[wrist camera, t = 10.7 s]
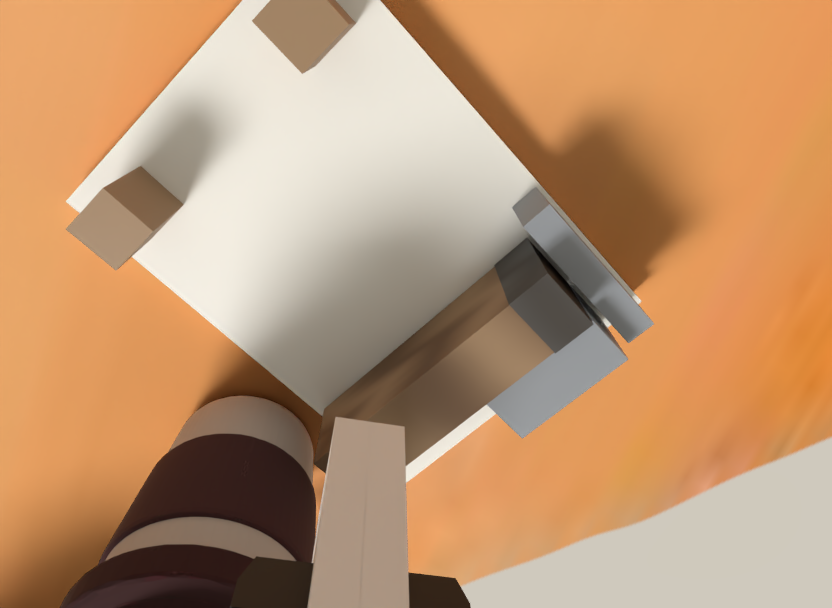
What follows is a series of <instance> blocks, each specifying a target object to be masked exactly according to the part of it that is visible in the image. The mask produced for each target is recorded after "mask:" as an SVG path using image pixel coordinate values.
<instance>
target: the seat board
mask: <svg viewBox="0 0 832 608" xmlns="http://www.w3.org/2000/svg"><path fill="white" fill-rule="evenodd" d="M66 202H67V203H68V204H70V205H71V206H72V207H73V208H74V209H75V210H77V211H78V212H79V213H80V214H79V215H78V216H77V217H76V218H75V219H74V221H73V222H72V223H71V224H70V225H69V226H68V227H67V228H66V230H67V231H69V232H70V233H71V234H72V235H73V236H75V237H76V238H77V239H78V240H79V241H81V242H82V243H83V244H84V245H86V246H87V247H88V248H89V249H90V250H92V251H93V252H94V253H95V254H97V255H98V256H99V257H100V258H101V259H103V260H104V261H105V262H106V263H107V264H109V265H110V266H111V267H112V268H114V269H115V270H117V269H118V268H120V267H121V266H122V265H123V264H124V263H125V262H126V261H127V260H128V259H130V258H131V257H133V258H134V259H135V260H136V261H138V262H139V263H140V264H141V265H142V266H143V267H145V268H146V269H147V270H148V271H149V272H151V273H152V274H153V275H154V276H155V277H157V278H158V279H159V280H160V281H161V282H163V283H164V284H165V285H166V286H167V287H169V288H170V289H171V290H172V291H173V292H175V293H176V294H177V295H178V296H179V297H180V298H182V299H183V300H184V301H185V302H186V303H188V304H189V305H190V306H191V307H192V308H194V309H195V310H196V311H197V312H198V313H200V314H201V315H202V316H203V317H204V318H206V319H207V320H208V321H209V322H210V323H211V324H213V325H214V326H215V327H216V328H217V329H219V330H220V331H221V332H222V333H223V334H225V335H226V336H227V337H228V338H229V339H231V340H232V341H233V342H234V343H235V344H237V345H238V346H239V347H240V348H241V349H243V350H244V351H245V352H246V353H247V354H248V355H250V356H251V357H252V358H253V359H254V360H256V361H257V362H258V363H259V364H260V365H262V366H263V367H264V368H265V369H266V370H268V371H269V372H270V373H271V374H272V375H274V376H275V377H276V378H277V379H278V380H280V381H281V382H282V383H283V384H284V385H285V386H287V387H288V388H289V389H290V390H291V391H293V392H294V393H295V394H296V395H297V396H299V397H300V398H301V399H302V400H303V401H305V402H306V403H307V404H308V405H309V406H311V407H312V408H313V409H314V410H315V411H316V412H318V413H319V414H320V415H321V416H322V417H323V412H324V409H325V408H326V407H327V406H328V405H329V404H331V403H332V402H333V401H334V400H335V399H337V398H338V397H339V396H340V395H341V394H343V393H344V392H345V391H346V390H347V389H349V388H350V387H351V386H352V385H353V384H355V383H356V382H357V381H358V380H359V379H361V378H362V377H363V376H364V375H365V374H367V373H368V372H369V371H370V370H371V369H373V368H374V367H375V366H376V365H377V364H379V363H380V362H381V361H382V360H383V359H385V358H386V357H387V356H388V355H389V354H391V353H392V352H393V351H394V350H395V349H397V348H398V347H399V346H400V345H401V344H402V343H404V342H405V341H406V340H407V339H408V338H410V337H411V336H412V335H413V334H414V333H416V332H417V331H418V330H419V329H420V328H422V327H423V326H424V325H425V324H426V323H428V322H429V321H430V320H431V319H432V318H434V317H435V316H436V315H437V314H438V313H440V312H441V311H442V310H443V309H444V308H446V307H447V306H448V305H449V304H450V303H452V302H453V301H454V300H455V299H456V298H458V297H459V296H460V295H461V294H462V293H464V292H465V291H466V290H467V289H468V288H470V287H471V286H472V285H473V284H474V283H476V282H477V281H478V280H479V279H480V278H481V277H483V276H484V275H485V274H486V273H487V272H489V271H490V270H491V269H492V268H493V267H495V266H494V265H495V264H496V263H497V262H499V261H500V260H501V259H502V258H503V257H504V256H506V255H507V254H508V253H509V252H510V251H512V250H513V249H514V248H515V247H516V246H518V245H519V244H520V243H521V242H522V241H524V240H525V239H526V238H528V239H529V240H530V241H531V242H532V243H533V245H534V246H535V247H536V248H537V249H538V250H539V251H540V252H541V253H542V255H543V256H544V257H545V258H546V259H547V260H548V261H549V262H550V264H551V265H552V266H553V267H554V268H555V269H556V270H557V271H558V273H559V274H560V275H561V276H562V277H563V278H564V279H565V280H566V281H567V283H568V284H569V286H570V287H571V289H572V291H573V292H574V294H575V295H576V297H577V299H578V300H579V302H580V303H581V305H582V307H583V308H584V310H585V311H586V313H587V315H588V316H589V318H590V319H591V321H592V323H593V324H594V325H592V326H591V327H590V328H588V329H587V330H586V331H584V332H583V333H582V334H580V335H579V336H578V337H577V338H575V339H574V340H573V341H571V342H570V343H569V344H567V345H566V346H565V347H563V348H562V349H561V350H560V351H558V352H557V353H556V354H555V353H553V354H552V355H550V356H549V357H548V358H546V359H545V360H544V361H543V362H541V363H540V364H539V365H537V366H536V367H535V368H533V369H532V370H531V371H529V372H528V373H527V374H526V375H524V376H523V377H522V378H520V379H519V380H518V381H516V382H515V383H514V384H513V385H511V386H510V387H509V388H507V389H506V390H505V391H503V392H502V393H501V394H500V395H498V396H497V397H496V398H494V399H493V400H492V401H490V402H489V403H488V404H486V405H485V406H484V407H483V408H481V409H480V410H479V411H477V412H476V413H475V414H473V415H472V416H471V417H470V418H468V419H467V420H466V421H464V422H463V423H462V424H460V425H459V426H458V427H457V428H455V429H454V430H453V431H451V432H450V433H449V434H447V435H446V436H445V437H443V438H442V439H441V440H440V441H438V442H437V443H436V444H434V445H433V446H432V447H430V448H429V449H428V450H427V451H425V452H424V453H423V454H421V455H420V456H419V457H417V458H416V459H415V460H414V461H412V462H411V463H410V464H408V465H407V466H406V483H407V482H408V481H409V480H410V479H412V478H413V477H414V476H416V475H417V474H418V473H420V472H421V471H422V470H423V469H425V468H426V467H427V466H429V465H430V464H431V463H433V462H434V461H435V460H436V459H438V458H439V457H440V456H442V455H443V454H444V453H446V452H447V451H448V450H449V449H451V448H452V447H453V446H455V445H456V444H457V443H459V442H460V441H461V440H462V439H464V438H465V437H466V436H468V435H469V434H470V433H471V432H473V431H474V430H475V429H477V428H478V427H479V426H481V425H482V424H483V423H484V422H486V421H487V420H488V419H490V418H491V417H492V416H494V415H495V414H497V415H498V416H499V417H500V418H501V419H502V420H503V421H504V422H506V423H507V424H508V425H509V426H510V427H511V428H512V429H513V430H514V431H515V432H516V433H517V434H518V435H519V436H520V437H521V438H524V437H525V436H526V435H528V434H529V433H530V432H532V431H533V430H534V429H536V428H537V427H538V426H540V425H541V424H542V423H544V422H545V421H546V420H548V419H549V418H550V417H552V416H553V415H555V414H556V413H557V412H559V411H560V410H561V409H563V408H564V407H565V406H567V405H568V404H569V403H571V402H572V401H573V400H575V399H576V398H577V397H579V396H580V395H581V394H583V393H584V392H585V391H587V390H588V389H589V388H591V387H592V386H593V385H595V384H596V383H597V382H599V381H600V380H601V379H603V378H604V377H605V376H607V375H608V374H609V373H611V372H612V371H613V370H615V369H616V368H617V367H619V366H620V365H621V364H623V363H624V362H625V361H627V360H628V358H627V357H626V355H625V354H624V352H623V351H622V349H621V348H620V346H619V345H618V343H617V342H616V340H615V338H614V337H613V335H612V334H611V332H610V331H609V329H608V327H609V326H610V325H612V326H613V327H614V328H615V329H616V330H617V331H618V332H619V333H620V334H621V336H622V337H623V338H624V339H625V340H626V341H627V342H628V343H630V342H631V341H632V340H633V339H635V338H636V337H637V336H639V335H640V334H641V333H643V332H644V331H645V330H647V329H648V328H649V327H651V326H652V325H653V324H654V323H653V322H652V321H651V319H650V318H649V317H648V316H647V315H646V313H645V312H644V311H643V310H642V308H641V307H640V306H639V305H638V304H639V303H640V302H642V301H641V300H640V299H639V298H638V297H637V295H636V294H635V293H634V292H633V291H632V290H631V288H630V287H629V286H628V285H627V284H626V283H625V282H624V280H623V279H622V278H621V277H620V276H619V275H618V273H617V272H616V271H615V270H614V269H613V268H612V267H611V265H610V264H609V263H608V262H607V261H606V260H605V258H604V257H603V256H602V255H601V254H600V253H599V252H598V250H597V249H596V248H595V247H594V246H593V245H592V244H591V242H590V241H589V240H588V239H587V238H586V237H585V235H584V234H583V233H582V232H581V231H580V230H579V229H578V227H577V226H576V225H575V224H574V223H573V222H572V220H571V219H570V218H569V217H568V216H567V215H566V214H565V212H564V211H563V210H562V209H561V208H560V207H559V206H558V204H557V203H556V202H555V201H554V200H553V199H552V197H551V196H550V195H549V194H548V193H547V192H546V191H545V189H544V188H543V187H542V186H541V185H540V184H539V182H538V181H537V180H536V179H535V178H534V177H533V176H532V174H531V173H530V172H529V171H528V170H527V169H526V168H525V166H524V165H523V164H522V163H521V162H520V161H519V159H518V158H517V157H516V156H515V155H514V154H513V153H512V151H511V150H510V149H509V148H508V147H507V146H506V144H505V143H504V142H503V141H502V140H501V139H500V138H499V136H498V135H497V134H496V133H495V132H494V131H493V130H492V128H491V127H490V126H489V125H488V124H487V123H486V121H485V120H484V119H483V118H482V117H481V116H480V115H479V113H478V112H477V111H476V110H475V109H474V108H473V106H472V105H471V104H470V103H469V102H468V101H467V100H466V98H465V97H464V96H463V95H462V94H461V93H460V91H459V90H458V89H457V88H456V87H455V86H454V85H453V83H452V82H451V81H450V80H449V79H448V78H447V77H446V75H445V74H444V73H443V72H442V71H441V70H440V68H439V67H438V66H437V65H436V64H435V63H434V62H433V60H432V59H431V58H430V57H429V56H428V55H427V53H426V52H425V51H424V50H423V49H422V48H421V47H420V45H419V44H418V43H417V42H416V41H415V40H414V39H413V37H412V36H411V35H410V34H409V33H408V32H407V30H406V29H405V28H404V27H403V26H402V25H401V24H400V22H399V21H398V20H397V19H396V18H395V17H394V15H393V14H392V13H391V12H390V11H389V10H388V9H387V7H386V6H385V5H384V4H383V3H382V2H381V1H380V0H242V1H241V3H240V4H239V5H238V6H237V7H236V8H235V9H234V11H233V12H232V13H231V14H230V15H229V16H228V17H227V19H226V20H225V21H224V22H223V23H222V24H221V25H220V27H219V28H218V29H217V30H216V31H215V32H214V33H213V35H212V36H211V37H210V38H209V39H208V40H207V41H206V42H205V44H204V45H203V46H202V47H201V48H200V49H199V50H198V52H197V53H196V54H195V55H194V56H193V57H192V58H191V60H190V61H189V62H188V63H187V64H186V65H185V66H184V68H183V69H182V70H181V71H180V72H179V73H178V74H177V75H176V77H175V78H174V79H173V80H172V81H171V82H170V83H169V85H168V86H167V87H166V88H165V89H164V90H163V91H162V93H161V94H160V95H159V96H158V97H157V98H156V99H155V101H154V102H153V103H152V104H151V105H150V106H149V107H148V109H147V110H146V111H145V112H144V113H143V114H142V115H141V116H140V118H139V119H138V120H137V121H136V122H135V123H134V124H133V126H132V127H131V128H130V129H129V130H128V131H127V132H126V134H125V135H124V136H123V137H122V138H121V139H120V140H119V142H118V143H117V144H116V145H115V146H114V147H113V148H112V150H111V151H110V152H109V153H108V154H107V155H106V156H105V157H104V159H103V160H102V161H101V162H100V163H99V164H98V165H97V167H96V168H95V169H94V170H93V171H92V172H91V173H90V175H89V176H88V177H87V178H86V179H85V180H84V181H83V183H82V184H81V185H80V186H79V187H78V188H77V189H76V190H75V192H74V193H73V194H72V195H71V196H70V197H69V198H68V200H67V201H66Z"/></svg>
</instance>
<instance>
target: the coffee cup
mask: <svg viewBox="0 0 832 608" xmlns="http://www.w3.org/2000/svg"><path fill="white" fill-rule="evenodd" d="M312 482H313V446H312V442H311V439H310V436H309V434H308V432H307V430H306V428H305V426H304V425H303V424H302V422H301V421H300V420H299V419H298V418H297V417H296V416H295V415H294V414H293V413H292V412H290V411H289V410H288V409H286V408H285V407H283V406H281V405H280V404H277V403H275V402H273V401H270V400H267V399H264V398H260V397H254V396H230V397H226V398H222V399H218V400H215V401H213V402H210V403H208V404H206V405H205V406H203V407H202V408H200V409H198V410H197V411H196V412H195V413H194V414H193V415H192V416H191V417H190V418H189V419H188V420H187V421H186V423H185V424H184V426H183V428H182V429H181V431H180V433H179V435H178V436H177V438H176V440H175V441H174V443H173V445H172V447H171V448H170V450H169V452H168V453H167V454H166V455H164V456H163V457H162V458H161V460H160V461H159V462H158V463H157V464H156V466H155V467H154V469H153V470H152V472H151V473H150V475H149V477H148V478H147V480H146V482H145V483H144V485H143V487H142V488H141V490H140V492H139V493H138V495H137V497H136V498H135V500H134V502H133V503H132V505H131V507H130V508H129V510H128V512H127V514H126V515H125V517H124V519H123V520H122V522H121V524H120V525H119V527H118V529H117V530H116V532H115V534H114V535H113V537H112V539H111V540H110V542H109V544H108V545H107V547H106V549H105V550H104V552H103V554H102V556H101V559H100V561H99V564H98V565H97V566H96V567H94V568H93V569H92V570H90V571H89V572H87V573H86V574H85V575H84V576H83V577H82V578H81V579H80V580H79V581H78V582H77V583H76V584H75V585H74V586H73V587H72V588H71V589H70V591H69V592H68V594H67V596H66V597H65V599H64V600H63V602H62V604H61V606H60V608H230V605H231V601H232V598H233V594H234V590H235V587H236V583H237V579H238V578H239V576H240V575H241V574H242V573H243V572H244V571H245V569H246V568H247V567H248V566H249V565H250V563H251V562H252V561H253V560H254V559H255V557H256V556H258V557H266V558H275V559H283V560H291V561H300V562H308V563H312V558H313V551H314V544H315V524H316V498H315V493H314V488H313V485H312Z"/></svg>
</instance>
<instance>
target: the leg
mask: <svg viewBox="0 0 832 608" xmlns="http://www.w3.org/2000/svg"><path fill="white" fill-rule="evenodd" d="M494 266H495V267H493V268H492V269H491V270H490V271H489V272H487V273H486V274H485V275H484V276H483V277H481V278H480V279H479V280H478V281H477V282H476V283H474V284H473V285H472V286H471V287H470V288H468V289H467V290H466V291H465V292H464V293H462V294H461V295H460V296H459V297H458V298H456V299H455V300H454V301H453V302H452V303H450V304H449V305H448V306H447V307H446V308H444V309H443V310H442V311H441V312H440V313H438V314H437V315H436V316H435V317H434V318H432V319H431V320H430V321H429V322H428V323H426V324H425V325H424V326H423V327H422V328H420V329H419V330H418V331H417V332H416V333H414V334H413V335H412V336H411V337H410V338H408V339H407V340H406V341H405V342H404V343H402V344H401V345H400V346H399V347H398V348H397V349H395V350H394V351H393V352H392V353H391V354H389V355H388V356H387V357H386V358H385V359H383V360H382V361H381V362H380V363H379V364H377V365H376V366H375V367H374V368H373V369H371V370H370V371H369V372H368V373H367V374H365V375H364V376H363V377H362V378H361V379H359V380H358V381H357V382H356V383H355V384H353V385H352V386H351V387H350V388H349V389H347V390H346V391H345V392H344V393H343V394H341V395H340V396H339V397H338V398H337V399H335V400H334V401H333V402H332V403H331V404H329V405H328V406H327V407H326V408H325V409H324V412H323V418H322V423H321V428H320V433H319V438H318V443H317V449H316V454H315V459H314V464H315V465H316V466H317V467H318V468H320V469H321V470H322V471H323V472H325V473H326V470H327V464H328V458H329V452H330V446H331V441H332V435H333V429H334V423H335V417H341V418H348V419H355V420H362V421H369V422H376V423H383V424H390V425H397V426H404V427H405V463H406V466H407V465H408V464H410V463H411V462H412V461H414V460H415V459H416V458H417V457H419V456H420V455H421V454H423V453H424V452H425V451H427V450H428V449H429V448H430V447H432V446H433V445H434V444H436V443H437V442H438V441H440V440H441V439H442V438H443V437H445V436H446V435H447V434H449V433H450V432H451V431H453V430H454V429H455V428H457V427H458V426H459V425H460V424H462V423H463V422H464V421H466V420H467V419H468V418H470V417H471V416H472V415H473V414H475V413H476V412H477V411H479V410H480V409H481V408H483V407H484V406H485V405H486V404H488V403H489V402H490V401H492V400H493V399H494V398H496V397H497V396H498V395H500V394H501V393H502V392H503V391H505V390H506V389H507V388H509V387H510V386H511V385H513V384H514V383H515V382H516V381H518V380H519V379H520V378H522V377H523V376H524V375H526V374H527V373H528V372H529V371H531V370H532V369H533V368H535V367H536V366H537V365H539V364H540V363H541V362H543V361H544V360H545V359H546V358H548V357H549V356H550V355H552V354H553V353H555V354H556V353H557V352H558V351H560V350H561V349H562V348H563V347H565V346H566V345H567V344H569V343H570V342H571V341H573V340H574V339H575V338H577V337H578V336H579V335H580V334H582V333H583V332H584V331H586V330H587V329H588V328H590V327H591V326H592V325H594V324H593V323H592V321H591V319H590V318H589V316H588V315H587V313H586V311H585V310H584V308H583V307H582V305H581V303H580V302H579V300H578V299H577V297H576V295H575V294H574V292H573V291H572V289H571V287H570V286H569V284H568V283H567V281H566V280H565V279H564V278H563V277H562V276H561V275H560V274H559V273H558V271H557V270H556V269H555V268H554V267H553V266H552V265H551V264H550V262H549V261H548V260H547V259H546V258H545V257H544V256H543V255H542V253H541V252H540V251H539V250H538V249H537V248H536V247H535V246H534V245H533V243H532V242H531V241H530V240H529V239H528V238H526V239H525V240H524V241H522V242H521V243H520V244H519V245H518V246H516V247H515V248H514V249H513V250H512V251H510V252H509V253H508V254H507V255H506V256H504V257H503V258H502V259H501V260H500V261H499V262H497V263H496V264H495V265H494Z"/></svg>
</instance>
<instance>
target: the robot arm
mask: <svg viewBox="0 0 832 608" xmlns="http://www.w3.org/2000/svg"><path fill="white" fill-rule="evenodd" d="M230 608H470V603H469V601H468V599H467V598H466V596H465V594H464V592H463V591H462V589H461V587H460V585H459V583H458V582H457V580H456V578H449V577H440V576H432V575H424V574H415V573H408V540H407V501H406V463H405V427H404V426H397V425H390V424H383V423H376V422H369V421H362V420H355V419H348V418H341V417H335V423H334V429H333V435H332V441H331V446H330V452H329V458H328V464H327V470H326V476H325V482H324V488H323V494H322V499H321V505H320V511H319V517H318V524H317V531H316V538H315V544H314V551H313V558H312V563H308V562H300V561H291V560H283V559H275V558H266V557H258V556H256V557H255V559H254V560H253V561H252V562H251V563H250V565H249V566H248V567H247V568H246V569H245V571H244V572H243V573H242V574H241V575H240V576H239V578H238V579H237V583H236V587H235V590H234V594H233V598H232V601H231V605H230Z"/></svg>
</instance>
